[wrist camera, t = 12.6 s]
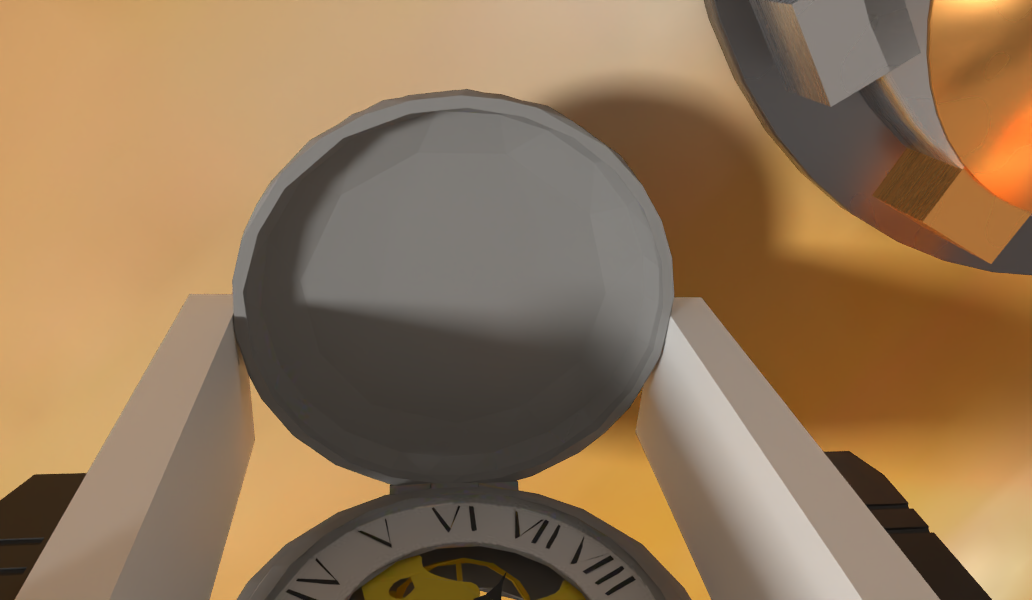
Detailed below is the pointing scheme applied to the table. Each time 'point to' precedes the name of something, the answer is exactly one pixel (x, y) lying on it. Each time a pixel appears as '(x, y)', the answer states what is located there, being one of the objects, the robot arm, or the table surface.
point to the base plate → (838, 143)
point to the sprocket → (926, 100)
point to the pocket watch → (454, 346)
